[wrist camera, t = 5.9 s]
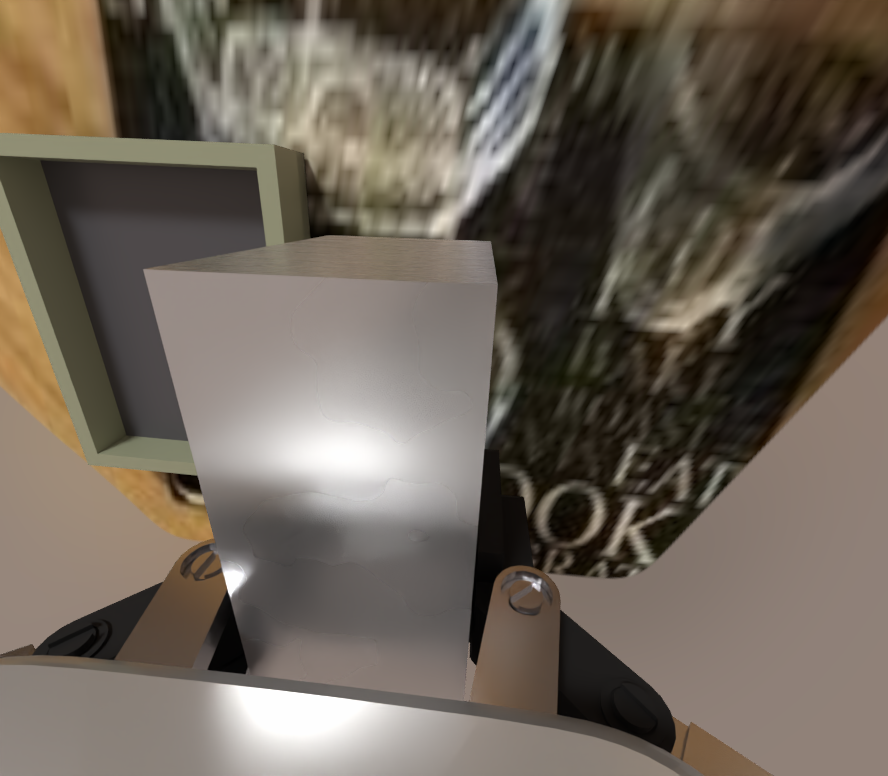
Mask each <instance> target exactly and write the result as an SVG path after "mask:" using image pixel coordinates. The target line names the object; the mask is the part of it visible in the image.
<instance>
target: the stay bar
mask: <svg viewBox="0 0 888 776" xmlns="http://www.w3.org/2000/svg"><path fill="white" fill-rule="evenodd" d="M143 271H144V275H145V278H146V282H147V286H148V290H149V294H150V297H151V301H152V305H153V309H154V313H155V316H156V320H157V324H158V328H159V331H160V335H161V339H162V343H163V347H164V350H165V354H166V358H167V362H168V365H169V369H170V373H171V377H172V381H173V384H174V388H175V392H176V396H177V399H178V403H179V407H180V411H181V415H182V418H183V422H184V426H185V430H186V434H187V437H188V441H189V445H190V449H191V452H192V456H193V460H194V464H195V468H196V471H197V475H198V479H199V483H200V486H201V490H202V494H203V498H204V502H205V505H206V509H207V513H208V517H209V520H210V524H211V528H212V532H213V536H214V539H215V543H216V547H217V551H218V554H219V558H220V562H221V566H222V570H223V573H224V577H225V581H226V585H227V589H228V592H229V596H230V600H231V604H232V607H233V611H234V615H235V619H236V623H237V626H238V630H239V634H240V638H241V641H242V645H243V649H244V653H245V657H246V660H247V664H248V668H249V672H250V675H254V676H263V677H271V678H279V679H288V680H296V681H305V682H313V683H322V684H330V685H338V686H347V687H355V688H363V689H371V690H379V691H387V692H395V693H403V694H411V695H419V696H427V697H435V698H443V699H451V700H459V701H464V692H465V680H466V667H467V656H468V643H469V631H470V619H471V606H472V594H473V582H474V569H475V557H476V545H477V533H478V520H479V508H480V496H481V483H482V471H483V459H484V446H485V434H486V422H487V409H488V397H489V385H490V372H491V360H492V348H493V335H494V323H495V311H496V299H497V286H498V285H497V278H496V272H495V266H494V259H493V253H492V246H491V241H465V240H439V239H412V238H386V237H359V236H333V235H327V236H322V237H317V238H311V239H306V240H300V241H295V242H289V243H284V244H278V245H273V246H267V247H262V248H256V249H251V250H245V251H240V252H235V253H229V254H224V255H218V256H213V257H207V258H202V259H196V260H191V261H185V262H180V263H174V264H169V265H164V266H158V267H153V268H147V269H143Z"/></svg>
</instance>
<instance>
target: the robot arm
mask: <svg viewBox="0 0 888 776" xmlns="http://www.w3.org/2000/svg"><path fill="white" fill-rule="evenodd" d="M469 642H470V658H471V660H472V661H473V662H474V664H475V665H476V671H475V676H474V681H473V686H472V690H471V695H470V700H469V702H467V701H459V700H451V699H443V698H435V697H427V696H419V695H411V694H403V693H395V692H387V691H379V690H371V689H363V688H355V687H347V686H338V685H330V684H322V683H313V682H305V681H296V680H288V679H279V678H271V677H263V676H254V675H250V672H249V668H248V664H247V660H246V657H245V653H244V649H243V645H242V641H241V638H240V634H239V630H238V626H237V623H236V619H235V615H234V611H233V607H232V604H231V600H230V596H229V592H228V589H227V585H226V581H225V577H224V573H223V570H222V566H221V562H220V558H219V554H218V551H217V547H216V543H215V539H210V540H207V541H204V542H201V543H199V544H197V545H195V546H193V547H191V548H190V549H188V550H187V551H186V552H185V553H184V554H182V555H181V556H180V558H179V559H178V560H177V561H176V562H175V564H174V566H173V567H172V569H171V570H170V572H169V574H168V575H167V577H166V578H165V580H164V581H163V582H161V583H159V584H157V585H155V586H152V587H150V588H148V589H145V590H143V591H141V592H139V593H137V594H134V595H132V596H130V597H127V598H125V599H123V600H121V601H118V602H116V603H114V604H112V605H109V606H107V607H105V608H103V609H100V610H98V611H96V612H93V613H91V614H89V615H87V616H84V617H82V618H80V619H78V620H76V621H73V622H72V623H70V624H68V625H66V626H64V627H62V628H60V629H59V630H58V631H56V632H55V633H53V634H52V635H51V636H49V637H48V638H47V639H46V640H45V641H44V642H43V643H42V644H41V645H40V646H39V647H38V648H37V649H35V648H34V646H33V645H32V644H30V645H28V646H24V647H21V648H19V649H15V650H12V651H9V652H6V653H3V654H0V776H773V775H772V774H770V773H769V772H767V771H766V770H764V769H762V768H761V767H759V766H758V765H756V764H755V763H753V762H752V761H750V760H749V759H747V758H746V757H744V756H743V755H741V754H739V753H738V752H737V751H735V750H733V749H732V748H730V747H729V746H727V745H726V744H724V743H723V742H721V741H720V740H718V739H717V738H715V737H714V736H712V735H711V734H709V733H708V732H706V731H704V730H703V729H701V728H700V727H698V726H697V725H695V724H694V723H692V722H691V723H690V725H689V727H688V726H686V725H685V724H683V723H682V722H680V721H679V720H677V719H676V718H674V717H673V716H672V715H671V712H670V710H669V708H668V707H667V705H666V704H665V702H664V701H663V699H662V697H661V696H660V695H658V693H657V692H656V691H655V690H654V689H653V688H652V687H651V686H650V685H649V684H648V683H646V682H645V681H644V680H643V679H642V678H641V677H639V676H638V675H637V674H636V673H635V672H633V671H632V670H631V669H630V668H629V667H627V666H626V665H625V664H624V663H623V662H622V661H620V660H619V659H618V658H617V657H616V656H615V655H613V654H612V653H611V652H610V651H608V650H607V649H606V648H605V647H604V646H603V645H601V644H600V643H599V642H598V641H597V640H596V639H594V638H593V637H592V636H591V635H590V634H588V633H587V632H586V631H585V630H584V629H582V628H581V627H580V626H579V625H578V624H577V623H575V622H574V621H573V620H572V619H571V618H570V617H568V616H567V615H566V614H565V613H564V612H562V611H561V610H560V594H559V591H558V589H557V587H556V585H555V583H554V582H553V581H552V580H551V579H550V578H549V577H548V576H547V575H546V574H544V573H543V572H541V571H540V570H538V569H535V568H533V561H532V553H531V546H530V538H529V531H528V523H527V516H526V508H525V501H524V498H523V497H520V496H507V495H501V482H500V464H499V450H487V449H484V459H483V471H482V483H481V496H480V508H479V520H478V533H477V545H476V557H475V569H474V582H473V594H472V606H471V619H470V631H469Z"/></svg>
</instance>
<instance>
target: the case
mask: <svg viewBox="0 0 888 776" xmlns="http://www.w3.org/2000/svg"><path fill="white" fill-rule="evenodd" d="M0 228H1V230H2V233H3V236H4V238H5V241H6V244H7V247H8V249H9V252H10V255H11V257H12V260H13V263H14V265H15V268H16V271H17V273H18V276H19V279H20V282H21V284H22V287H23V290H24V292H25V295H26V298H27V300H28V303H29V306H30V309H31V311H32V314H33V317H34V319H35V322H36V325H37V327H38V330H39V333H40V336H41V338H42V341H43V344H44V346H45V349H46V352H47V354H48V357H49V360H50V363H51V365H52V368H53V371H54V373H55V376H56V379H57V381H58V384H59V387H60V390H61V392H62V395H63V398H64V400H65V403H66V406H67V408H68V411H69V414H70V417H71V419H72V422H73V425H74V427H75V430H76V433H77V435H78V438H79V441H80V444H81V446H82V449H83V452H84V454H85V457H86V460H87V462H88V465H96V466H107V467H117V468H127V469H137V470H147V471H157V472H168V473H178V474H188V475H197V471H196V468H195V464H194V460H193V456H192V452H191V449H190V445H189V441H188V437H187V434H186V430H185V426H184V422H183V418H182V415H181V411H180V407H179V403H178V399H177V396H176V392H175V388H174V384H173V381H172V377H171V373H170V369H169V365H168V362H167V358H166V354H165V350H164V347H163V343H162V339H161V335H160V331H159V328H158V324H157V320H156V316H155V313H154V309H153V305H152V301H151V297H150V294H149V290H148V286H147V282H146V278H145V275H144V271H143V269H147V268H153V267H158V266H164V265H169V264H174V263H180V262H185V261H191V260H196V259H202V258H207V257H213V256H218V255H224V254H229V253H235V252H240V251H245V250H251V249H256V248H262V247H267V246H273V245H278V244H284V243H289V242H295V241H300V240H306V239H311V237H310V225H309V213H308V201H307V188H306V176H305V164H304V153H300V152H297V151H294V150H290V149H287V148H284V147H280V146H277V145H271V144H248V143H224V142H201V141H177V140H154V139H130V138H107V137H83V136H60V135H36V134H13V133H0Z"/></svg>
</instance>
